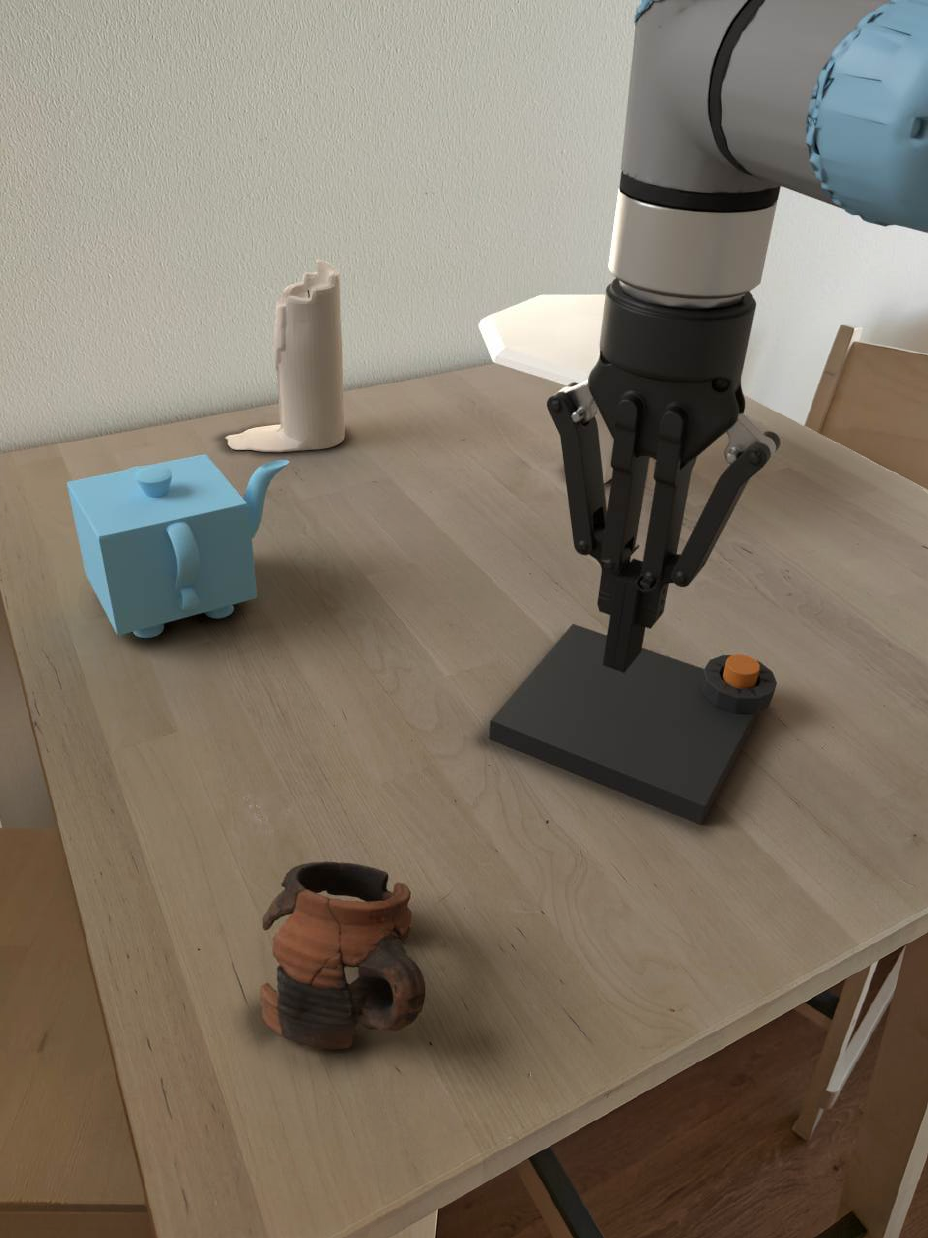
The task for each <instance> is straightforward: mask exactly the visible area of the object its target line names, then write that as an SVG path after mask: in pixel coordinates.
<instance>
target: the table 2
mask: <svg viewBox="0 0 928 1238" xmlns="http://www.w3.org/2000/svg"><path fill="white" fill-rule="evenodd" d="M605 295H606V293H604V294H602V293H601V294H598V293H597V294H595V293H594V294H589V293H588V294H585V293H584V294H539V295H536V296H533V297H531V298H529V299H527V300H524V301H521V302H520V303H516V304H515V305H511V306H509V307H507V308H504V309H501V310H499V311H496V312H494V313H492V314H490V315H488V316H486V317H484V318H482V319H480V322H479V324H478V325H477V326H478V329H479V331H480V333H481V336H482V338H483V341H484V343H485V346H486V348H487V351H488V353H489V355H490V358H491V360H492V363H494V364H497V365H501V366H503V367H506V368H508V369H509V368H510V369H513V370H516V371H519V372H521V373H525V374H529V375H532V376H535V377H538V378H541V379H544V380H547V381H551V382H554V383H558V384H561V385H564V386H567V385H568V384H570V383H572V382H576V383H579V384H580V383H582V382H585V381H587V380H588V377H589V374H590V372H591V370H592V369H593V368H594V366H595V365H596V363H597V361H598V359H599V356H600V337H601V328H602V320H603V312H604V303H605ZM597 408H598V407H597ZM595 417H596V421H597V426H598V433H599V442H600V452H601V461H602V470H603V480H604V484H606V483H608V482H609V481H611V479H612V472H613V468H612V467H611V456H612V449H613V441H614V439H613V438H612V436H611V434H610V432H609V430H608V427H607V425H606V423H605V421H604V419H603V417H602V415H601V413H600V411H599V409H598V410H597V414H596V415H595Z"/></svg>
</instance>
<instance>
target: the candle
mask: <svg viewBox="0 0 928 1238" xmlns="http://www.w3.org/2000/svg"><path fill="white" fill-rule="evenodd" d="M340 275H341V274H340V272H339V270H338V269H337V268H336V267H335V266H334V265H333V264H332V263H330V262H328V261H326V260H324V259H317V260H316V271H304V272H303V273H302V279H301V281H299V282H295V283H292V284H290V285H288V286H286V287H285V288H284V289H283V291H282V293H281V297H280V298H279V299H278V301H277V303H276V305H275V323H274V333H273V334H274V335H273V349H274V350H273V351H274V352H273V353H274V365H275V366H274V367H275V371H276V377H277V378H276V380H277V381H276V382H277V395H278V396H277V397H278V411H279V424H272V425H265V426H264V425H263V426H256V427H252V428H249V429H246V430H245V431H243V432H241V433H235V434H230V435H227V436H226V437H225V439H226V440H227V446H229V448H230V449H232V450H236V451H242V450H244V451H249V450H251V451H256V452H262V453H285V452H286V453H287V452H298V451H299V452H300V451H309V450H310V451H312V450H324V449H329V448H332V447H335V446H337V445H339V444H341V443H342V442H343V441H344V440H345V436H346V435H345V434H346V433H345V432H346V431H345V401H344V397H345V396H344V363H343V362H344V360H343V357H344V355H343V334H342V333H343V331H342V330H343V329H342V305H341V304H342V302H341V299H342V298H341V276H340Z"/></svg>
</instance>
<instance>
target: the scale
mask: <svg viewBox="0 0 928 1238" xmlns="http://www.w3.org/2000/svg"><path fill="white" fill-rule="evenodd" d="M606 640H607V634H605V633H601V632H598V631H596V630H593V629H591V628H587V627H584V626H581V625H578V624H575V623H572V624H571V625H570V626H569V627H568V629H567V630H566V631H565V632H564V633H563V635H562V636H561V637H560V638H559V639H558V641H557V642H556V643H555V644H554V645H553V646H552V647H551V649H549V651H548V652H547V653H546V654H545V656H544V657H543V658H542V659H541V660H540V661H539V663H537V665H536V666H535V667H534V669H532V671H531V672H530V673H528V675H527V677H526V678H525V679H524V680H523V681H522V682H521V684H520V685H519V686H518V687H517V688H516V689H515V691H514V692H513V693H512V694H511V696H509V697H508V699H507V700H506V701H505V703H503V705H502V706H501V707H500V708H499V709H498V711H496V713H495V714H494V715H493V717H491V719H490V722H489V735H488V736H489V737H488V739H490V740H492V741H495V742H497V743H499V744H502V745H504V746H506V747H508V748H511V749H514V750H516V751H519V752H522V753H524V754H527V755H529V756H531V757H534V758H535V759H539V760H541V761H544V762H546V763H548V764H551V765H552V766H553V765H554V766H556V767H557V768H558V767H559V768H561V769H563V770H566V771H568V772H570V773H572V774H573V773H574V774H575V775H578V776H580V777H583V778H585V779H588V780H590V781H593V782H595V783H598V784H600V785H602V786H605V787H607V788H610V789H612V790H614V791H617V792H619V793H622V794H624V795H627V796H630V797H632V798H635V799H636V800H639V801H641V802H643V803H646V804H649V805H652V806H654V807H656V808H659V809H661V810H664V811H666V812H669V813H671V814H674V815H676V816H678V817H681V818H684V819H686V820H689V821H691V822H693V823H696V824H698V825H702V824H703V822H704V821H705V818H706V816H707V814H708V813H709V810H710V808H711V806H712V804H713V803H714V801H715V799H716V797H717V795H718V793H719V792H720V789H721V787H722V785H723V784H724V781H725V779H726V778H727V775H728V773H729V772H730V769H731V768H732V766H733V763H734V762H735V760H736V758H737V756H738V754H739V752H740V750H741V748H742V746H743V744H744V743H745V740H746V739H747V736H748V735H749V733H750V731H751V729H752V727H753V725H754V723H755V721H756V720H757V718H758V715H759V714H760V712H762V711H765V710H767V709H768V708H769V707H770V704H771V703H772V701H773V699H774V696H775V692H776V688H777V685H778V681H777V679H776V677H775V674H774V672H773V670H771V669H770V668H768V667H767V666H766V665H765V664H764V663H762V662H761V661H760V660H757V659H755V660H756V661H757V662H758V663H759V665H760V670H759V674H758V678H757V682H756V684H755V686H754V687H752V688H750V689H745V688H736V687H733V686H731V685H729V684H727V683H726V682H725V681H724V679H723V672H724V668H725V664H726V660H727V658H728V657H730V656H732V655H733V654H721V655H718V656H717V657H714V658H710V659H709V660H708V661H707V663H706V665H705V666H704V668H703V667H700V666H697V665H694V664H691V663H688V662H686V661H682V660H679V659H677V658H673V657H671V656H668V655H665V654H661V653H659V652H656V651H654V650H650V649H648V648H645V647H642V650H641V653H640V654H639V655H638V656H637V658H636V659H635V660H634V661H633V663H632V664H631V665H630V667H629V668H628V669H627V670H626V672H625V673H623V672H620V671H617V670H615V669H612V668H609V667H607V666H604V665H603V660H604V653H605V646H606Z"/></svg>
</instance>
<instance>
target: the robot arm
mask: <svg viewBox="0 0 928 1238" xmlns="http://www.w3.org/2000/svg"><path fill="white" fill-rule="evenodd" d="M633 24H634V26H635V29H634V39H633V46H632V47H633V48H632V56H631V57H632V58H631V68H630V76H629V86H628V95H627V103H626V105H627V106H626V115H625V122H624V123H625V125H624V132H623V134H624V135H623V144H622V151H621V152H622V153H621V163H620V170H621V172H620V178H619V179H620V180H619V186H618V190H617V199H616V206H615V214H614V221H613V227H612V235H611V242H610V243H611V244H610V250H609V257H608V258H609V259H608V264H607V265H608V266H607V267H608V269H609V272H610V274H611V275H612V276H613V277H614V279H612V281H611V282H610V283H609V284H608V285H607V286H606V289H605V294H606V295H605V303H604V312H603V320H602V328H601V337H600V356H599V359H598V361H597V363H596V365H595V366H594V368H593V369H592V370H591V372H590V374H589V377H588V380H587V381H585V382H582V383H580V384H579V383H576V382H572V383H570V384H568V385H564V387H563V388H561V389H559V390H558V391H557V392H556V393H554V394H552V395H551V396H550V397H549V398H547V401H546V408H547V411H548V413H549V416H550V417H551V419H552V421H553V424H554V426H555V428H556V430H557V432H558V435H559V437H560V445H561V454H562V462H563V470H564V478H565V485H566V486H565V487H566V493H567V502H568V509H569V518H570V524H571V533H572V541H573V547H574V549H575V551H576V553H578V554H579V555H582V556H590V557H592V558H593V559H595V561H596V562H597V563H599V565H600V568H601V574H600V581H599V588H598V595H597V603H596V604H597V608H598V612H600V613H602V614H606V615H608V616H609V620H608V627H607V632H606V633H607V634H606V635H607V640H606V646H605V653H604V660H603V665H604V666H607V667H609V668H612V669H615V670H617V671H620V672H623V673H625V672H626V670H627V669H628V668H629V667H630V665H631V664H632V663H633V661H634V660H635V659H636V658H637V656H638V655H639V654H640V653H641V650H642V648H643V645H644V644H643V643H644V638H645V633H646V628H647V629H649V630H652V628H653V627H654V626H655V625H656V623H657V622H658V621H659V619H660V618H661V617H662V615H663V614H664V612H665V607H666V601H667V597H668V590H669V586H670V584H674V585H675V586H677V587H680V588H686V587H688V586H689V585H690V584H691V583H692V582H693V581H694V579H695V578H696V577H697V576H698V574H699V573H700V572H701V571H702V569H703V568H704V567H705V566H706V564H707V562H708V560H709V558H710V556H711V555H712V552H713V550H714V548H715V547H716V545H717V542H718V540H720V537H721V535H722V533H723V531H724V529H725V527H726V525H727V523H728V522H729V519H730V518H731V516H732V514H733V512H734V510H735V508H736V506H737V504H738V502H739V500H740V498H741V497H742V494H743V493H744V491H745V489H746V488H747V485H748V483H749V481H750V480H751V478H752V477H754V476H755V475H756V474H757V473H758V472H759V471H761V470H762V469H763V468H764V467H765V465H766V464H767V463H768V462H769V461H770V459H771V458H772V457H773V456H774V455H775V453H776V452H777V451H778V450H779V449H780V447H781V438H780V436H779V435H778V434H777V433H775V432H774V431H764V432H762V431H761V430H760V429H759V428H758V427H757V426H756V425H755V424H754V423H753V422H752V421H751V420H750V418H749V417H748V416H747V415H746V414H745V411H746V398H745V395H744V392H743V388H742V376H743V371H744V366H745V361H746V356H747V352H748V347H749V343H750V339H751V338H750V337H751V332H752V328H753V323H754V318H755V313H756V309H757V302H756V299H755V298H754V296H753V294H752V293H751V291H752V290H754V289H755V288H756V287H758V286H759V285H760V284H761V282H762V278H763V273H764V267H765V263H766V258H767V254H768V250H769V249H768V248H769V244H770V238H771V234H772V229H773V225H774V220H775V215H776V210H777V206H778V200H779V196H780V192H781V189H782V188H785V189H786V190H787V189H788V190H790V191H793V192H794V193H795V192H796V193H799V194H801V195H804V196H806V197H809V198H812V199H815V200H818V201H820V202H822V203H826V204H828V205H831V206H833V207H836V208H838V209H842V210H844V211H845V213H847V214H849V215H851V216H858V217H860V218H861V219H862V221H864V222H866V223H868V224H873V225H877V226H880V227H884V228H887V227H889V226H898V227H902V228H906V229H911V230H915V231H918V232H922V233H926V234H928V0H640V3H639V5H638V6H637V7H636V9H635V14H634V22H633ZM781 187H782V188H781ZM597 407H598V408H597ZM598 409H599V411H600V413H601V415H602V417H603V419H604V421H605V423H606V425H607V427H608V430H609V432H610V434H611V436H612V438H613V439H614V441H613V449H612V456H611V467H612V468H613V472H612V479H610V487H609V494H608V502H607V501H606V500H607V498H606V492H605V491H606V490H605V483H604V480H603V470H602V461H601V452H600V442H599V433H598V426H597V421H596V417H595V415H596V414H597V410H598ZM724 434H727V437H728V443H727V445H726V447H725V448H724V458H725V462H726V463H727V464H728V466H727V467H726V469H725V470H724V471H723V472H722V473H721V474H720V476H719V478H718V480H717V482H716V483H715V485H714V487H713V488H712V492H711V493H710V495H709V498H708V499H707V501H706V503H705V505H704V507H703V509H702V511H701V513H700V515H699V517H698V519H697V521H696V523H695V525H694V527H693V529H692V531H691V534H690V535H689V537H688V539H687V541H686V544H685V545H684V547H683V549H682V552H681V553H678V551H679V549H678V548H679V543H680V538H681V533H682V528H683V522H684V517H685V511H686V505H687V499H688V494H689V489H690V483H691V478H692V474H693V473H692V472H693V469H694V467H695V465H696V463H697V458H698V456H700V455H701V454H702V453H703V452H705V451H706V450H707V449H708V448H709V447H711V445H713V444H714V443H715V442H716V441H717V440H719V438H721V437H722V436H723V435H724ZM650 458H652V459H653V460H655V465H654V472H653V480H654V481H655V483H654V489H653V495H652V501H651V508H650V515H649V520H648V527H647V534H646V539H645V545H644V552H643V557H642V560H640V559H636V558H632V556H633V555H634V554H635V553H636V551H637V550H638V549H639V548H640V544H637V540H638V539H637V538H638V533H639V526H640V520H641V514H642V507H643V502H644V495H645V489H646V483H647V477H648V471H649V463H650Z"/></svg>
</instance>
